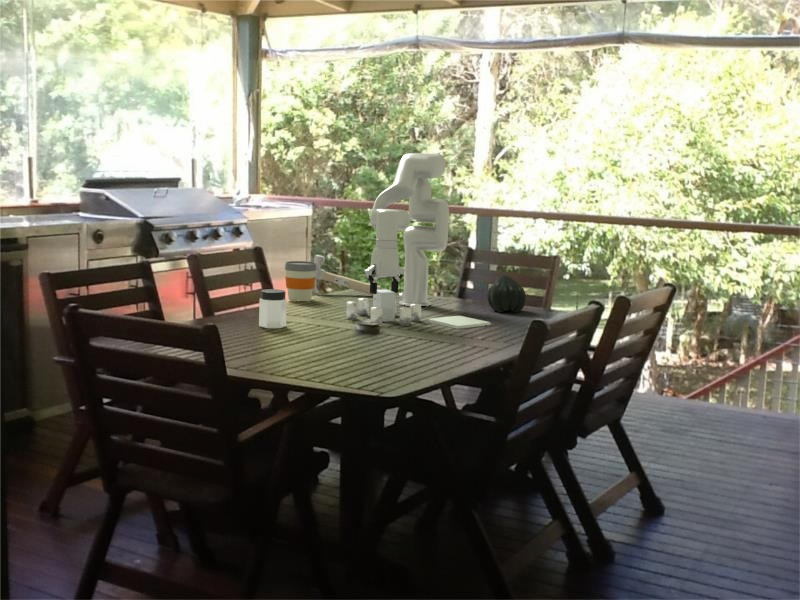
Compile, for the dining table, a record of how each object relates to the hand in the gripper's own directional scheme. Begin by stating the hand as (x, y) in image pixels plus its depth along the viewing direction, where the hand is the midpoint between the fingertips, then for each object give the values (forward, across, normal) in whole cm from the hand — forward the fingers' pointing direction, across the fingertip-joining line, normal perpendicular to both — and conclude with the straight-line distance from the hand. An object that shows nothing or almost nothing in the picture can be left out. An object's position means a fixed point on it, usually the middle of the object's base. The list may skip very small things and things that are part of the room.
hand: (384, 293), depth 322 cm
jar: (+11, +41, -7) cm, 43 cm away
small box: (+10, -1, 0) cm, 10 cm away
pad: (+10, -21, +18) cm, 29 cm away
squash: (+9, -58, +6) cm, 59 cm away
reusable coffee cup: (+9, 0, -52) cm, 53 cm away
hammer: (+9, -25, -57) cm, 63 cm away
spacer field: (+10, -1, 0) cm, 10 cm away
